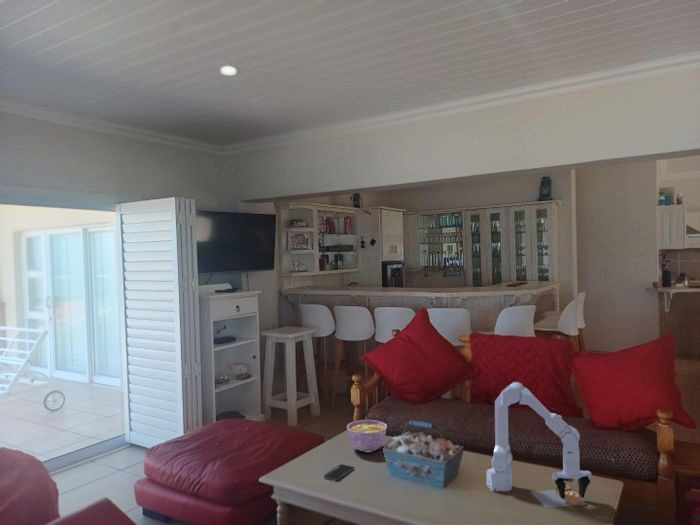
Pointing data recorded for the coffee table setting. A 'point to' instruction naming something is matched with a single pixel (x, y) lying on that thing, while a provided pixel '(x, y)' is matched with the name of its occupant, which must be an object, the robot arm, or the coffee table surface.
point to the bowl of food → (367, 434)
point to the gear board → (553, 499)
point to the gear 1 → (567, 488)
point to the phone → (338, 472)
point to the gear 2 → (572, 497)
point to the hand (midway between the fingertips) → (571, 497)
